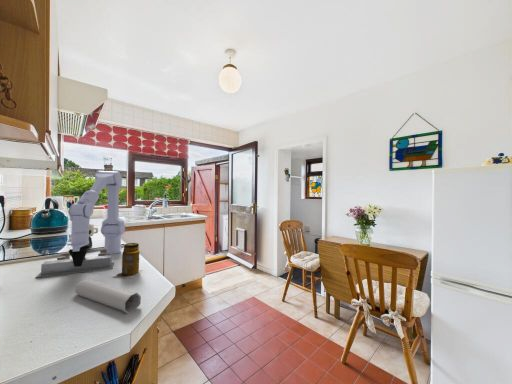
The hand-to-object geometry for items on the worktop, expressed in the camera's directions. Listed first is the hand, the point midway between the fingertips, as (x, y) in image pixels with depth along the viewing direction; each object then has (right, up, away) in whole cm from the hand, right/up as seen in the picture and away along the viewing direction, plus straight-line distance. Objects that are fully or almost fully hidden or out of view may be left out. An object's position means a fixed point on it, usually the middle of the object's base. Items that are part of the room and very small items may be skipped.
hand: (79, 264), depth 89 cm
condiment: (+22, -3, -3) cm, 23 cm away
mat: (0, -2, 0) cm, 2 cm away
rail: (0, -2, 0) cm, 2 cm away
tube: (+28, -3, -24) cm, 37 cm away
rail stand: (-5, -2, +8) cm, 10 cm away
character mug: (-24, -2, +33) cm, 41 cm away
